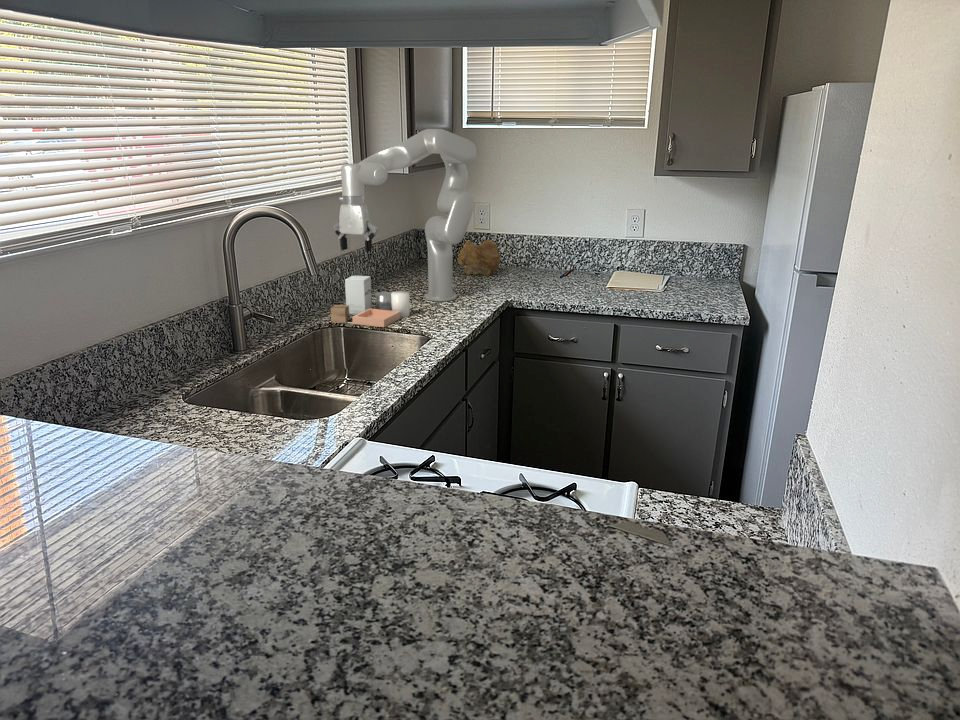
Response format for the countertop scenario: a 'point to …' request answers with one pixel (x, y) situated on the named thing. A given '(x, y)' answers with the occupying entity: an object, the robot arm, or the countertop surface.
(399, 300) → the white rounded lump
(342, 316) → the walnut block
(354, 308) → the supplement box
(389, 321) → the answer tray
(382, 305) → the grey tin
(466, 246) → the rough brown rock
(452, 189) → the robot arm
